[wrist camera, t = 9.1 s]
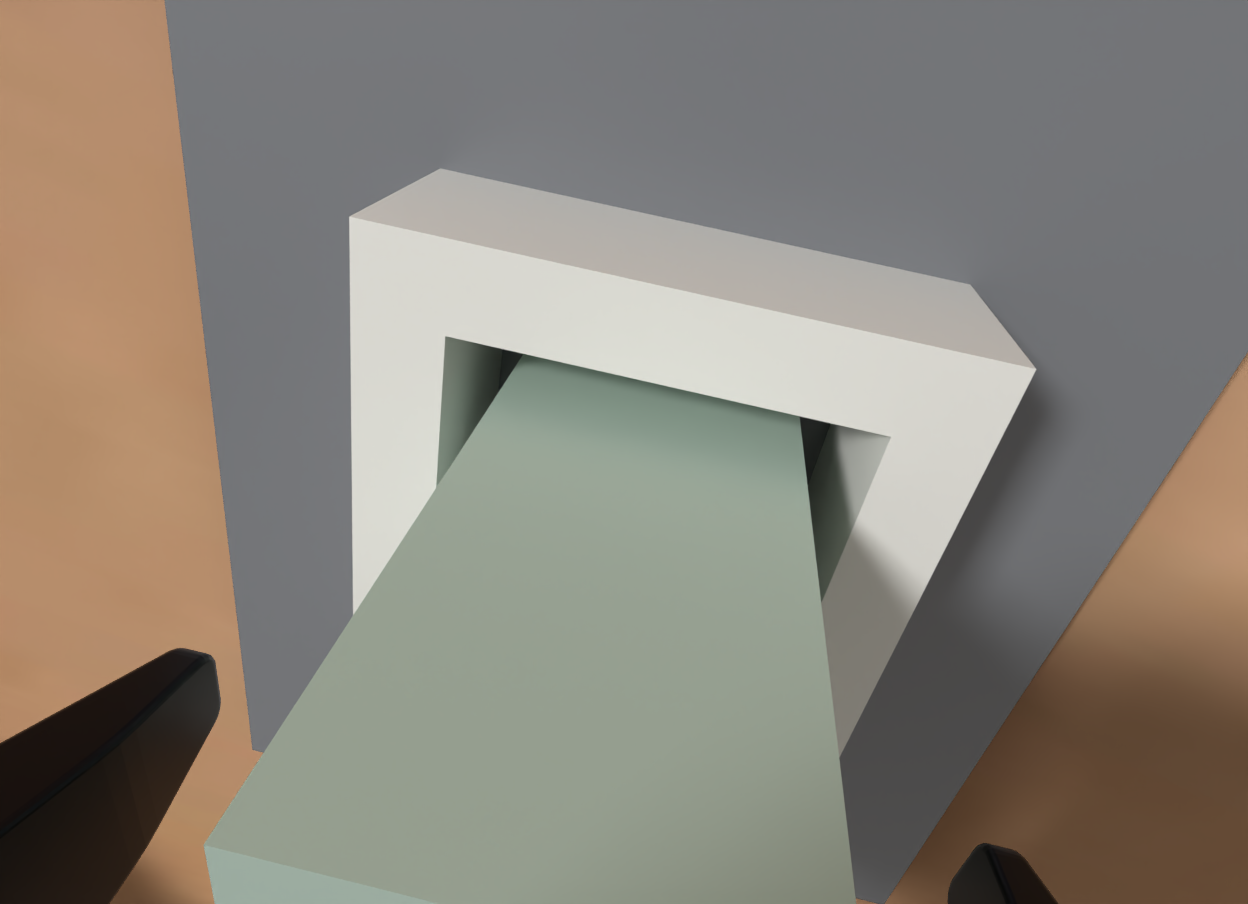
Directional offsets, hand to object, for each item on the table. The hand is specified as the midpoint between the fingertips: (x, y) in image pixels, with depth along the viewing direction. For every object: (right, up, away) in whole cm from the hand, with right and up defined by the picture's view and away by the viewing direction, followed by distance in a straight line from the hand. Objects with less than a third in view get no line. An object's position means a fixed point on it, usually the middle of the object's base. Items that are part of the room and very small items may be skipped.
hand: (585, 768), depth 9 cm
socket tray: (+1, +3, +5) cm, 6 cm away
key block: (+1, +3, +5) cm, 6 cm away
